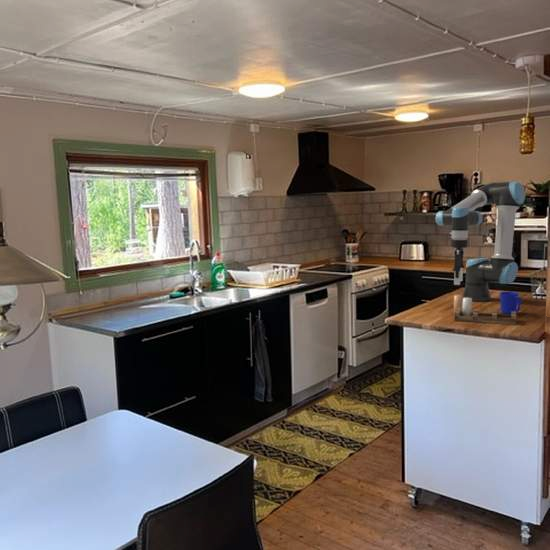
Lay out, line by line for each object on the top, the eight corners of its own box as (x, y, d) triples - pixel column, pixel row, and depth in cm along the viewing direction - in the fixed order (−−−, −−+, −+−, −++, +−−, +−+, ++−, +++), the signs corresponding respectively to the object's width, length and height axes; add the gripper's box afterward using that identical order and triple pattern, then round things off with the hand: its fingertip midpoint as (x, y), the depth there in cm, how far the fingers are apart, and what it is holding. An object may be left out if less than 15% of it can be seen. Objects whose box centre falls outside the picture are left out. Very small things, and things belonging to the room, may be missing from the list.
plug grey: (462, 316, 256) (463, 297, 255) (471, 316, 254) (472, 297, 253) (462, 317, 252) (462, 298, 251) (471, 318, 251) (471, 299, 250)
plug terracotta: (454, 312, 269) (454, 294, 268) (462, 313, 267) (463, 295, 266) (453, 314, 265) (453, 296, 264) (461, 314, 264) (462, 296, 263)
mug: (512, 317, 256) (513, 296, 255) (495, 312, 268) (496, 292, 267) (527, 315, 258) (527, 295, 257) (509, 311, 270) (510, 291, 269)
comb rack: (456, 316, 260) (456, 308, 260) (515, 320, 250) (516, 311, 249) (454, 320, 251) (454, 312, 250) (515, 324, 241) (516, 315, 240)
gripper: (453, 237, 274) (452, 279, 277) (448, 240, 252) (447, 285, 254) (469, 237, 271) (468, 279, 274) (465, 240, 249) (464, 286, 251)
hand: (458, 282), depth 264 cm, fingers open, 13 cm apart
